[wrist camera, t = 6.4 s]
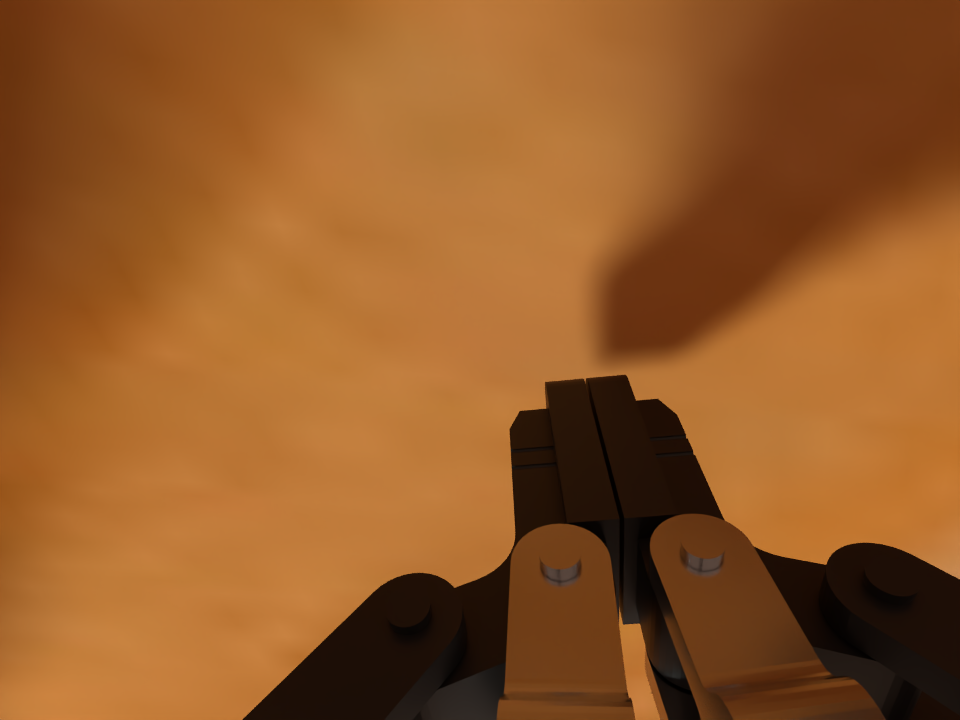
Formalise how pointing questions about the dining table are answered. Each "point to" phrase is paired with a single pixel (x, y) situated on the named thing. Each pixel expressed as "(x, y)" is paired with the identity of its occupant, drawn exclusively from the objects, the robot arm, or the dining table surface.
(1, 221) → the dining table surface
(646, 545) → the robot arm
